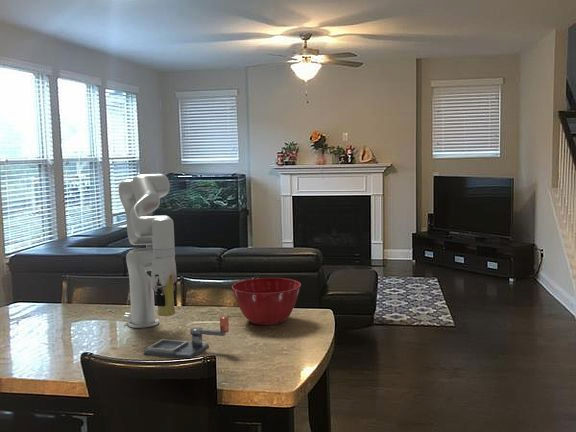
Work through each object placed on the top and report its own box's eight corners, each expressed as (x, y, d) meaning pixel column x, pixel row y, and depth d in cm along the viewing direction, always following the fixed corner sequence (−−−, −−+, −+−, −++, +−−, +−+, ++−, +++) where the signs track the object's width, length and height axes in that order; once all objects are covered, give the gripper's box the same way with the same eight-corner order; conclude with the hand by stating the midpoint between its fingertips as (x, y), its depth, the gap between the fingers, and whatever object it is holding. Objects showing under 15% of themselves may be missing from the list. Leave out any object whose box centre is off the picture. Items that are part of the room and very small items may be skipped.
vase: (158, 312, 215) (157, 272, 214) (176, 311, 216) (174, 272, 214) (156, 316, 209) (154, 276, 208) (174, 315, 210) (172, 275, 208)
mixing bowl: (296, 331, 234) (295, 292, 233) (225, 329, 239) (223, 291, 237) (305, 313, 262) (305, 278, 260) (242, 311, 266) (241, 277, 265)
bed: (143, 354, 210) (143, 339, 210) (164, 342, 223) (164, 328, 223) (189, 358, 204) (189, 343, 204) (208, 346, 217) (208, 332, 217)
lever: (188, 334, 214) (187, 316, 213) (194, 331, 218) (193, 313, 217) (225, 337, 209) (225, 319, 208) (231, 334, 213) (230, 316, 212)
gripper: (167, 249, 220) (169, 298, 221) (140, 256, 204) (143, 309, 205) (185, 249, 217) (187, 299, 219) (160, 257, 201) (162, 310, 203)
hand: (165, 303), depth 212 cm, fingers closed on vase, 5 cm apart
